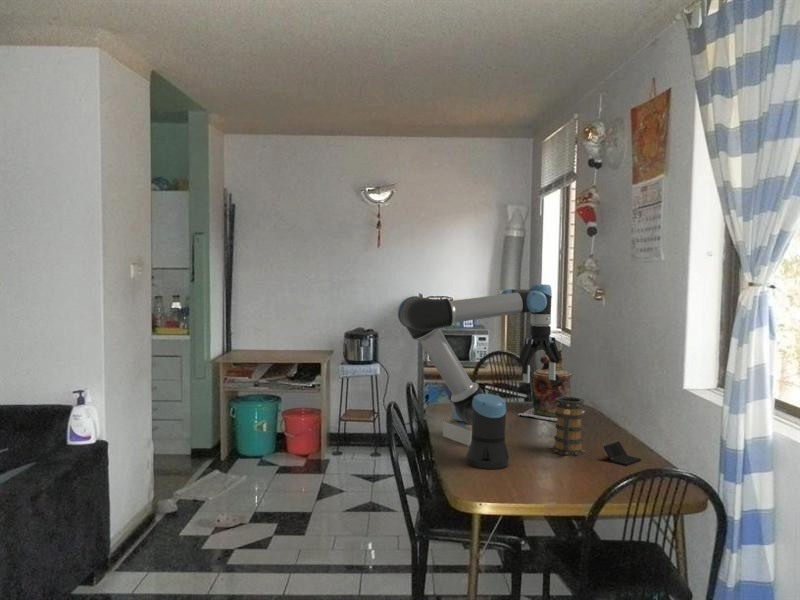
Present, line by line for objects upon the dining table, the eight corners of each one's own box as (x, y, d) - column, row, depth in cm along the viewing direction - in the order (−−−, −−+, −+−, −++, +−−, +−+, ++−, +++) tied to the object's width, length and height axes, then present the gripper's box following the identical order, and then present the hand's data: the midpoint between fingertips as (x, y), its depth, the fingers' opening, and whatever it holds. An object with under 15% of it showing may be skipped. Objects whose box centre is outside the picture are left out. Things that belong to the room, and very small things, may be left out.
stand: (469, 446, 254) (470, 427, 254) (442, 436, 269) (443, 418, 269) (497, 442, 261) (498, 423, 261) (470, 432, 277) (470, 415, 276)
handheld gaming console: (632, 463, 230) (617, 437, 235) (615, 472, 234) (600, 447, 238) (643, 460, 239) (628, 436, 244) (626, 470, 243) (612, 445, 247)
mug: (586, 449, 253) (588, 397, 252) (583, 461, 237) (585, 406, 236) (552, 446, 257) (554, 395, 256) (546, 457, 241) (548, 403, 240)
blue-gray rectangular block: (481, 425, 258) (482, 409, 258) (451, 418, 269) (452, 404, 268) (489, 423, 262) (489, 408, 262) (459, 417, 272) (459, 402, 272)
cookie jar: (538, 408, 330) (539, 344, 329) (586, 415, 316) (588, 348, 314) (516, 416, 310) (518, 348, 309) (566, 424, 296) (568, 353, 294)
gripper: (523, 327, 239) (522, 385, 240) (571, 324, 253) (569, 379, 254) (509, 325, 246) (508, 382, 246) (556, 323, 259) (555, 377, 260)
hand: (539, 381), depth 250 cm, fingers open, 13 cm apart
